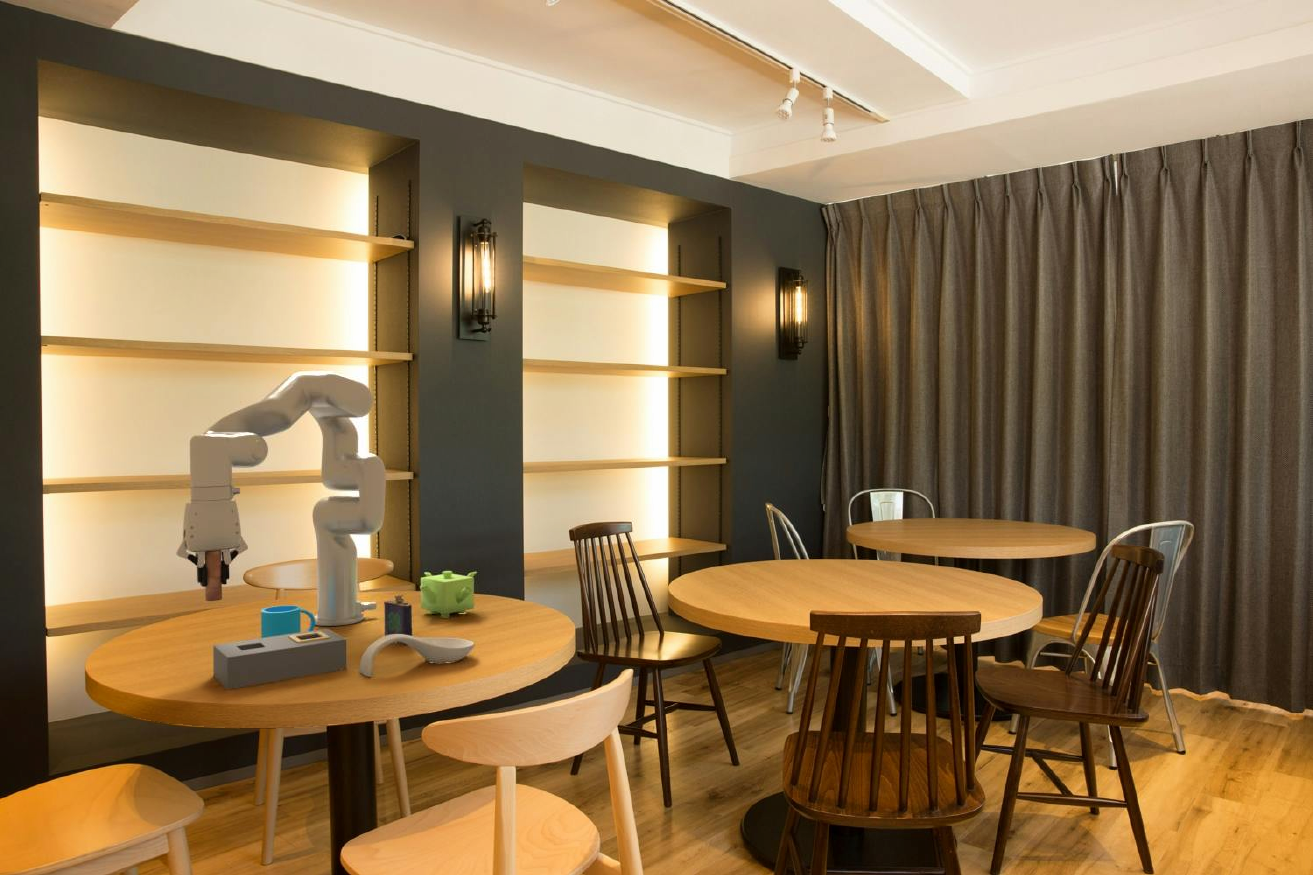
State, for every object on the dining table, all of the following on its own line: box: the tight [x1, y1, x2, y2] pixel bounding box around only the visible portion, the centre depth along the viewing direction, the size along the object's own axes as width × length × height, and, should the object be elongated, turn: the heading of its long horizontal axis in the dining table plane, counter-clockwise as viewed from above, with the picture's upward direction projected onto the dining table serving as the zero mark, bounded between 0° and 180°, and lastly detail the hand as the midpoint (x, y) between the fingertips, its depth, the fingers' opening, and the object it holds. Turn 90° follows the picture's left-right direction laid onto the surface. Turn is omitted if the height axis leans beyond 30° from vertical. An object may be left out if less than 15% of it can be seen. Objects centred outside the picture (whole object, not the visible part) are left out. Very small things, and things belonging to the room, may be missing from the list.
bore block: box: [212, 628, 348, 690], centre depth 170 cm, size 22×12×6 cm, turn 129°
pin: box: [204, 550, 223, 602], centre depth 174 cm, size 3×3×10 cm
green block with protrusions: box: [419, 570, 477, 618], centre depth 224 cm, size 15×14×11 cm
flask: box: [383, 594, 413, 646], centre depth 195 cm, size 9×3×11 cm, turn 50°
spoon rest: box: [358, 634, 475, 678], centre depth 175 cm, size 24×12×7 cm, turn 132°
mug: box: [260, 604, 316, 638], centre depth 193 cm, size 12×8×8 cm
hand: (213, 583), depth 174 cm, fingers closed on pin, 3 cm apart
